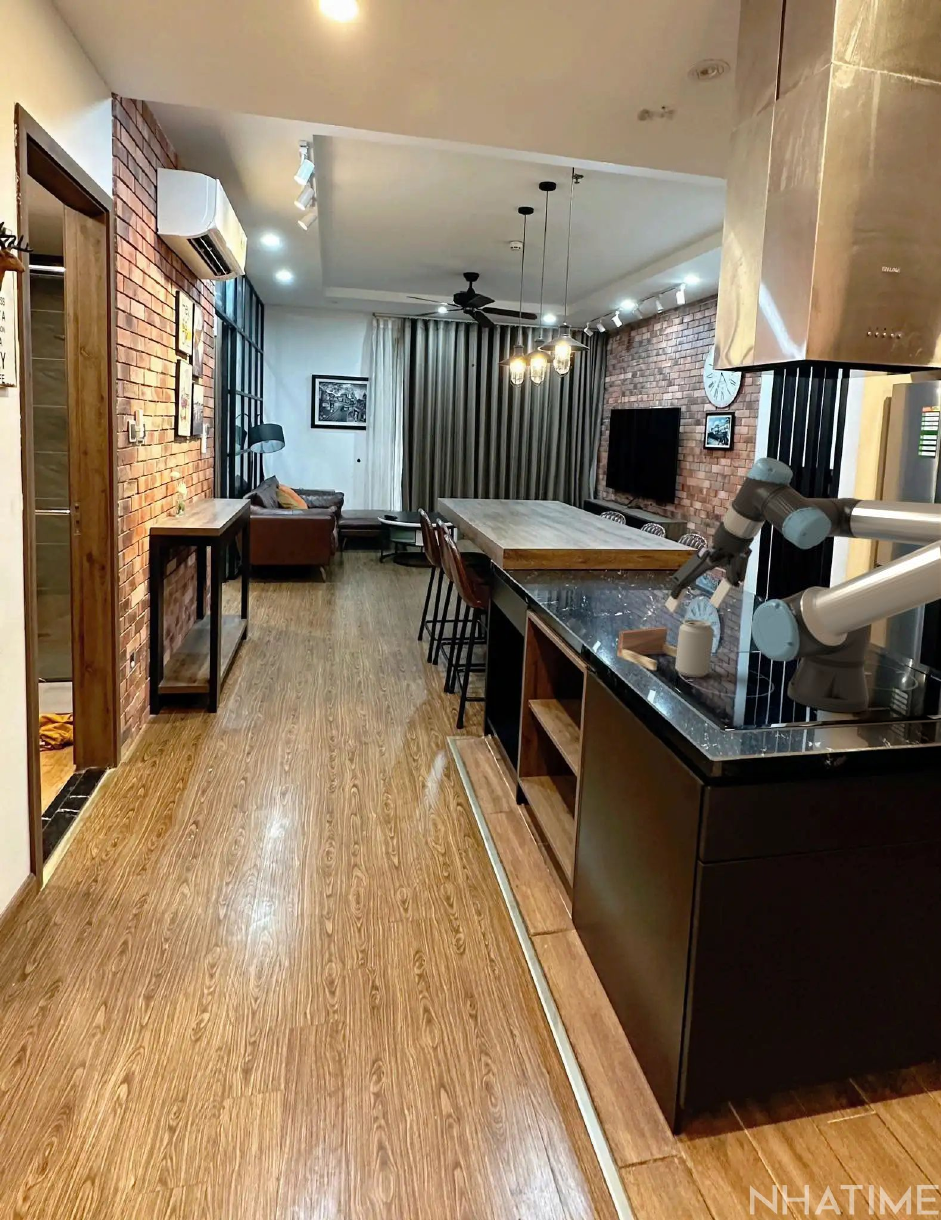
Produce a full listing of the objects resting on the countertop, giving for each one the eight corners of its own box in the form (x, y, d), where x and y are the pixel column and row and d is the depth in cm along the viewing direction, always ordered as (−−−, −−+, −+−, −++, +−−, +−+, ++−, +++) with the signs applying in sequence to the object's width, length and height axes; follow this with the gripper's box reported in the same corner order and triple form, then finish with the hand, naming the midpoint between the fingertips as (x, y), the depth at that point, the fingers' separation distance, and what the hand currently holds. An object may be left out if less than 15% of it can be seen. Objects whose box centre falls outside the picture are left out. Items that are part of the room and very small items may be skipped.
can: (685, 666, 179) (691, 616, 176) (715, 674, 173) (721, 622, 171) (668, 672, 173) (673, 620, 171) (698, 680, 168) (704, 627, 166)
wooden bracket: (697, 663, 181) (700, 639, 180) (653, 670, 174) (655, 644, 173) (660, 650, 192) (663, 626, 190) (617, 655, 185) (619, 631, 184)
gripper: (767, 517, 167) (721, 592, 180) (683, 519, 155) (640, 599, 168) (790, 538, 163) (742, 613, 175) (705, 541, 150) (660, 622, 163)
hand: (692, 606), depth 172 cm, fingers open, 13 cm apart
